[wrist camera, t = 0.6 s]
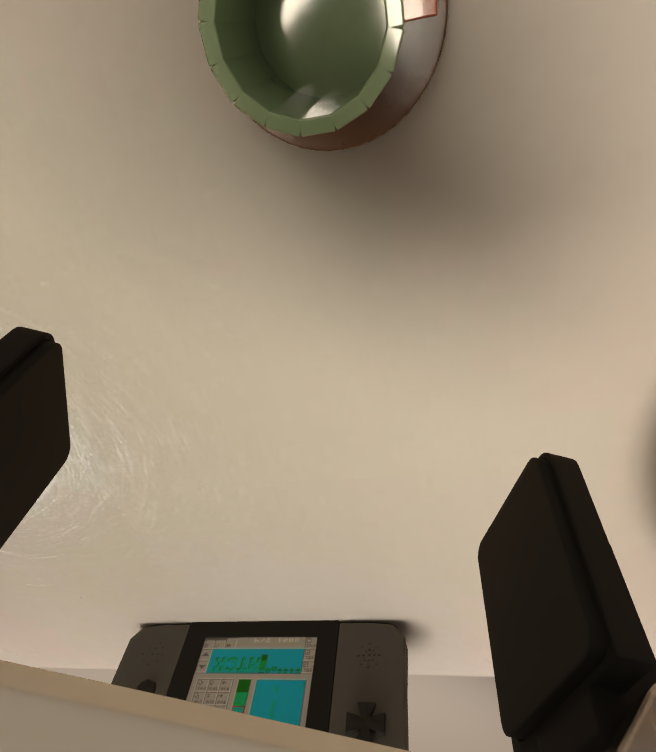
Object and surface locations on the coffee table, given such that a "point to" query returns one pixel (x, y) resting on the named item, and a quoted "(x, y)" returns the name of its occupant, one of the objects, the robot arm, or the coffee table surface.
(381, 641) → the handheld gaming console
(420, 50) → the brown dish
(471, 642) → the coffee table surface
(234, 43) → the green grooved mug
